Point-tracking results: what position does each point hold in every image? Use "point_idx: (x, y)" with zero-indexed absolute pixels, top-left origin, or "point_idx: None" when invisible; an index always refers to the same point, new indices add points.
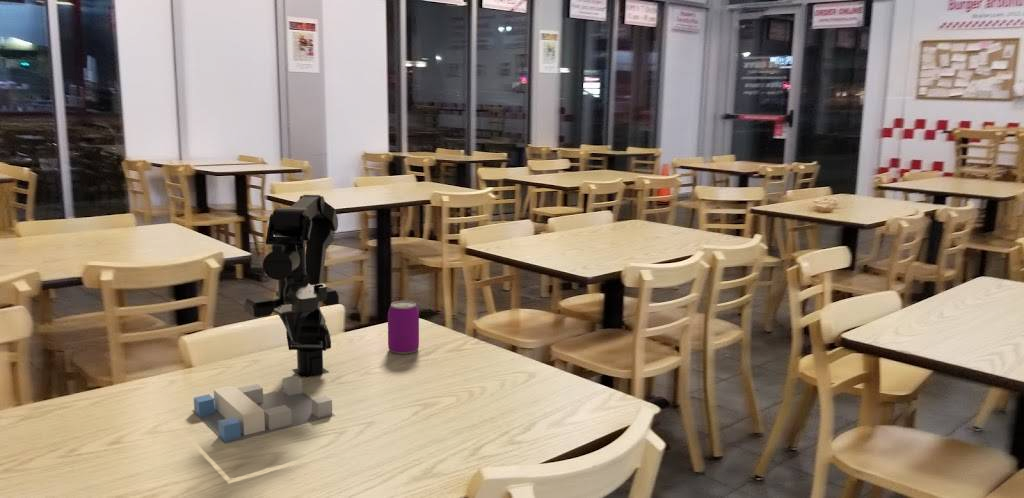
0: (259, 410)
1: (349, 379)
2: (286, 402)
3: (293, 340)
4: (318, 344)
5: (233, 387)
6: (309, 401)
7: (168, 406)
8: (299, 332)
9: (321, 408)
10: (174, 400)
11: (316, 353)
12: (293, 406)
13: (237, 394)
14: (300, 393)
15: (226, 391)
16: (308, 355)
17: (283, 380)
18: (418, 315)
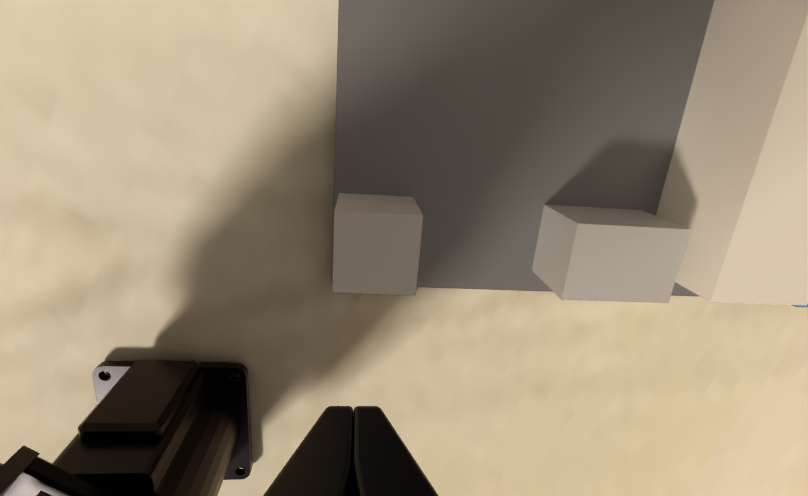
0: None
1: (21, 243)
2: (466, 124)
3: (378, 409)
4: (42, 491)
5: (731, 272)
6: (366, 49)
7: (778, 398)
8: (274, 483)
9: None
10: (732, 435)
11: (100, 458)
12: (469, 44)
13: (791, 156)
14: (351, 190)
15: (790, 241)
16: (161, 459)
17: (415, 281)
18: None
